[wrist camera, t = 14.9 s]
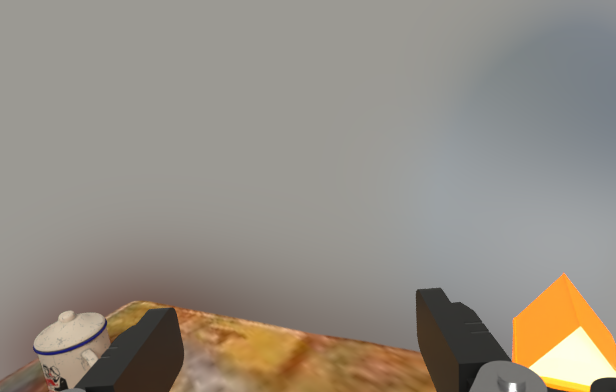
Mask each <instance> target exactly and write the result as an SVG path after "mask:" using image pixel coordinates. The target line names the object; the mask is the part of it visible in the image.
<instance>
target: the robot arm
mask: <svg viewBox="0 0 616 392" xmlns="http://www.w3.org/2000/svg"><path fill="white" fill-rule="evenodd" d="M416 317H417V337H418V343H419V347H420V351H421V354H422V357H423V359H424V361H425V364H426V366H427V369H428V371H429V374H430V376H431V378H432V381H433V383H434V386H435V388H436V391H437V392H570V391H564V390H558V389H554V388H550V387H547V386H546V384H545V382H544V381H543V379H542V378H541V377H540V376H539V375H538V374H537V373H535V372H534V371H532V370H531V369H529V368H527V367H525V366H523V365H520V364H518V363H514V362H512V361H511V359H510V358H509V357H508V356H507V354H506V353H505V351H504V350H503V349H502V348H501V346H500V345H499V344H498V342H497V341H496V340H495V338H494V337H493V336H492V334H491V333H489V330H488V329H487V328H486V326H485V325H484V324H482V321H481V320H480V318H479V317H478V316H477V314H476V313H475V312H474V311H473V310H472V309H470V308H469V307H467V306H466V305H464V304H462V303H461V302H456V303H451V302H450V301H449V299H448V298H447V296H446V295H445V293H444V292H443V290H442V289H441V288H431V289H418V290H417V291H416ZM183 360H184V347H183V342H182V338H181V333H180V328H179V323H178V318H177V314H176V311H175V309H174V308H159V309H149V310H148V311H147V312H146V313H145V315H144V316H143V317H142V318H141V319H140V321H139V322H138V323H137V324H136V325H134V326H132V327H130V328H129V329H127V330H126V331H124V332H123V333H122V334H120V335H119V336H118V337H117V338H116V339H115V340H114V341H113V343H112V344H111V345H110V346H109V349H107V350H106V351H105V352H104V353H103V354H102V355H101V358H100V359H98V360H97V361H96V362H95V363H94V365H93V366H92V367H91V368H90V369H89V370H88V372H87V373H86V374H85V375H84V376H83V377H82V379H81V380H80V381H79V382H78V383H77V384H76V386H75V387H74V388H72V389H66V390H63V391H60V392H169V391H170V389H171V387H172V385H173V383H174V381H175V379H176V377H177V376H178V374H179V372H180V370H181V368H182V365H183ZM590 392H616V377H604V378H599V379H597V380H595V381H593V382H592V384H591V385H590Z"/></svg>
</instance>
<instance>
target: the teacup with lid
mask: <svg viewBox="0 0 616 392" xmlns="http://www.w3.org/2000/svg"><path fill="white" fill-rule="evenodd" d="M58 319H59V320H58V321H56V322H55V323H54V324H52V325H50V326H48V327H47V328H45V329H44V330H43V331H42V332H41V333H39V334H38V336H37V337H36V339H35V341H34V345H33V349H34V351H35V352H36V353H37V354H38V357H39V360H40V364H41V367H42V370H43V373H44V376H45V379H46V382H47V385H48V389H49V392H60V391H63V390H66V389H72V388H74V387H75V386H76V384H77V383H78V382H79V381H80V380H81V379H82V377H83V376H84V375H85V374H86V373H87V372H88V370H89V369H90V368H91V367H92V366H93V365H94V363H95V362H96V361H97V360H98V359H100V358H101V355H102V354H103V353H104V352H105V351H106V350H107V349H109V346H110V345H111V343H110V339H109V335H108V332H107V328H106V325H107V321H106V319H105V318H104V316H102V315H101V314H98V313H81V314H75V313H74V312H73V311H66V312H63V313H62V314H60V315H59V317H58Z"/></svg>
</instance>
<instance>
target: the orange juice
mask: <svg viewBox="0 0 616 392" xmlns="http://www.w3.org/2000/svg"><path fill="white" fill-rule="evenodd" d="M512 362H514V363H518V364H520V365H523V366H525V367H527V368H529V369H531V370H532V371H534V372H535V373H537V374H538V375H539V376H540V377H541V378H542V379H543V381H544V382H545V384H546V386H547V387H550V388H554V389H558V390H564V391H570V392H590V385H591V384H592V382H593V381H595V380H597V379H599V378H604V377H616V345H615V342H614V340H613V337H612V335H611V333H610V332H609V331H608V330H607V329H606V327H605V326H604V324H603V323H602V322H601V320H600V319H599V318H598V317H597V315H596V314H595V313H594V311H593V310H592V309H591V307H590V306H589V305H588V304H587V302H586V301H585V300H584V299H583V297H582V296H581V295H580V293H579V292H578V291H577V289H576V288H575V287H574V285H573V284H572V283H571V281H570V280H569V279H568V278H567V276H566V275H565V274H563V275H562V276H561V277H560V278H558V279H557V280H556V281H555V282H554V283H553V284H552V285H551V286H550V287H549V288H548V289H546V290H545V291H544V292H543V293H542V294H541V295H540V296H539V297H538V298H537V299H535V300H534V301H533V302H532V303H531V304H530V305H529V306H528V307H527V308H526V309H524V310H523V311H522V312H521V313H520V314H519V315H518V316H517V317H514V320H513V353H512Z"/></svg>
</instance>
